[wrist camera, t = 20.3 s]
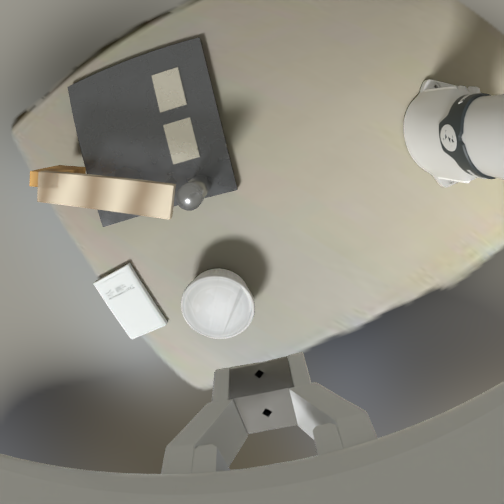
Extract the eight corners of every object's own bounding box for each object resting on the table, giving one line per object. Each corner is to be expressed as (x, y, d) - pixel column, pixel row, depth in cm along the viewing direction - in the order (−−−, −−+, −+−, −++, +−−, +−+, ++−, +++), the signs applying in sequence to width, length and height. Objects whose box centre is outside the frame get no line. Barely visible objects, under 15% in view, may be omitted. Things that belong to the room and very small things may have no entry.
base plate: (200, 39, 39) (188, 9, 28) (237, 188, 47) (236, 203, 36) (71, 87, 40) (30, 78, 29) (105, 225, 48) (72, 248, 37)
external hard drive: (133, 335, 56) (95, 280, 52) (168, 320, 55) (130, 261, 51) (130, 340, 54) (92, 284, 50) (166, 325, 53) (127, 264, 49)
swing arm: (185, 178, 43) (173, 185, 35) (181, 206, 44) (169, 219, 36) (59, 165, 41) (30, 171, 33) (57, 190, 42) (29, 200, 35)
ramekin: (259, 316, 54) (261, 333, 49) (196, 327, 55) (192, 344, 50) (245, 255, 51) (246, 268, 46) (177, 269, 51) (171, 283, 46)
